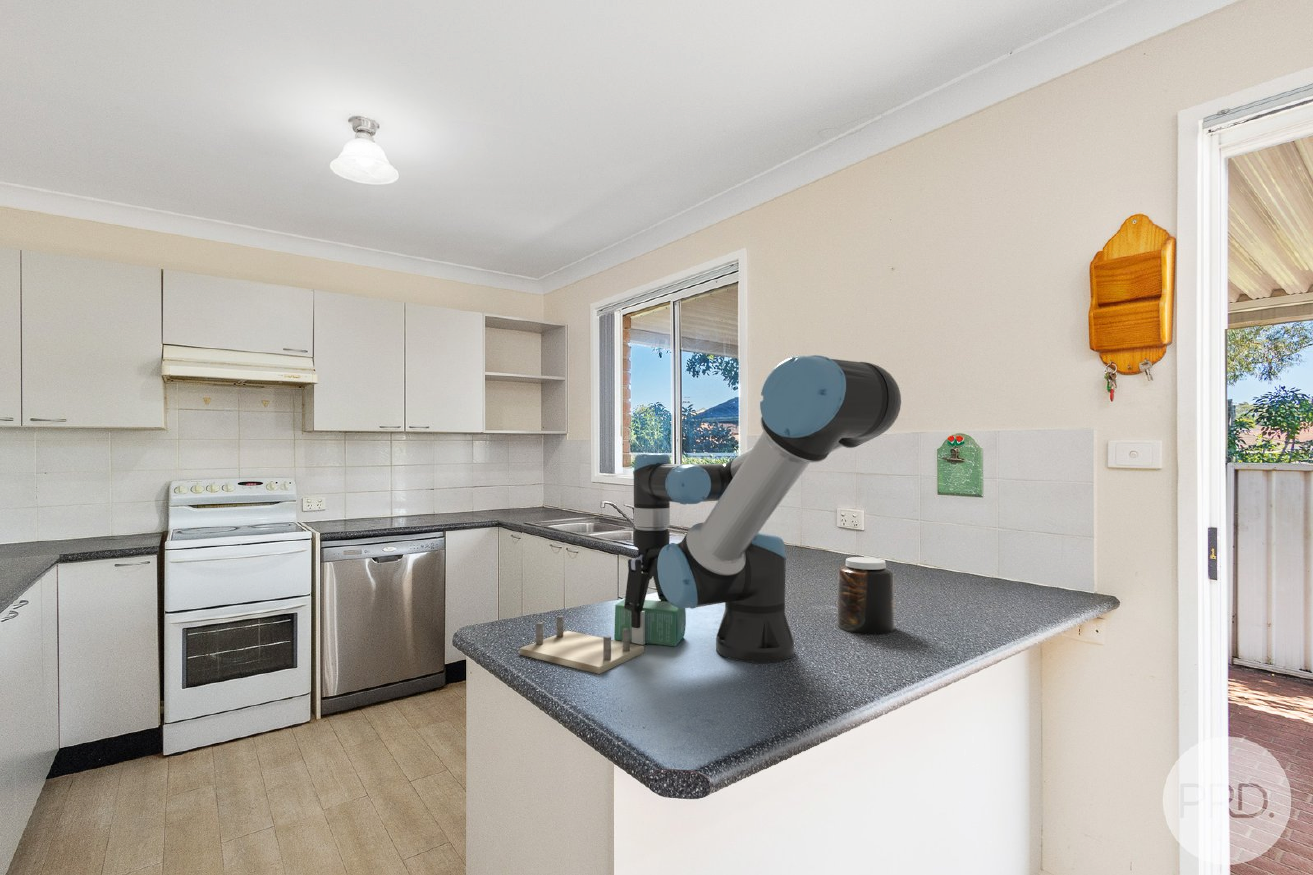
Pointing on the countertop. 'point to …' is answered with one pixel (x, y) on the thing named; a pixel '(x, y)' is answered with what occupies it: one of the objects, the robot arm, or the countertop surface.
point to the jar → (866, 596)
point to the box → (654, 622)
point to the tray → (581, 649)
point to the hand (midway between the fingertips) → (650, 637)
